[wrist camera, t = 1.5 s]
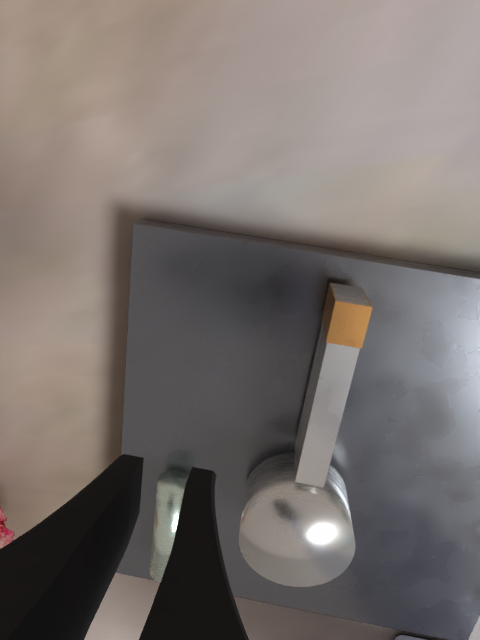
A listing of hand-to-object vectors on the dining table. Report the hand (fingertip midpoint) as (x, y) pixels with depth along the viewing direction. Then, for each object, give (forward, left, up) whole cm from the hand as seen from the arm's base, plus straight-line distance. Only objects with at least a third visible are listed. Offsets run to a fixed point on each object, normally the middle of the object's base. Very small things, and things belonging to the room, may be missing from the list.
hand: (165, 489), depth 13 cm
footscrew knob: (-2, -5, -8) cm, 9 cm away
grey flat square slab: (-4, -6, -9) cm, 12 cm away
